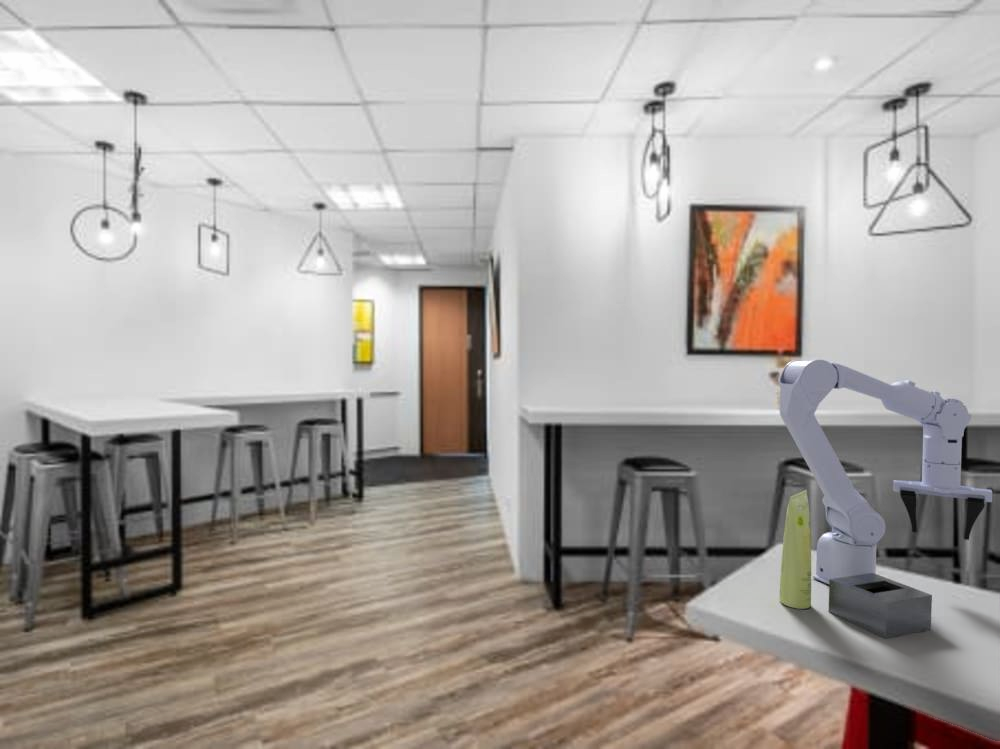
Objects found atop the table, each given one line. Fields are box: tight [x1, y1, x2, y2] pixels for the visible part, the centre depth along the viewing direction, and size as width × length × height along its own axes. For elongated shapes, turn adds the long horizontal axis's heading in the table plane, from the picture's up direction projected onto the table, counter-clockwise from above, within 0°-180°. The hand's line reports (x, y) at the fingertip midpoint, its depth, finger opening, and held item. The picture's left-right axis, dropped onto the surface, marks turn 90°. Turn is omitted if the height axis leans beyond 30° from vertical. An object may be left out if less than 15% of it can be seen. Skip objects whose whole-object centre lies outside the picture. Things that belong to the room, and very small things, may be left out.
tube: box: [779, 489, 812, 610], centre depth 100 cm, size 6×5×20 cm
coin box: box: [828, 573, 933, 639], centre depth 94 cm, size 10×10×6 cm
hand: (939, 534), depth 107 cm, fingers open, 7 cm apart
